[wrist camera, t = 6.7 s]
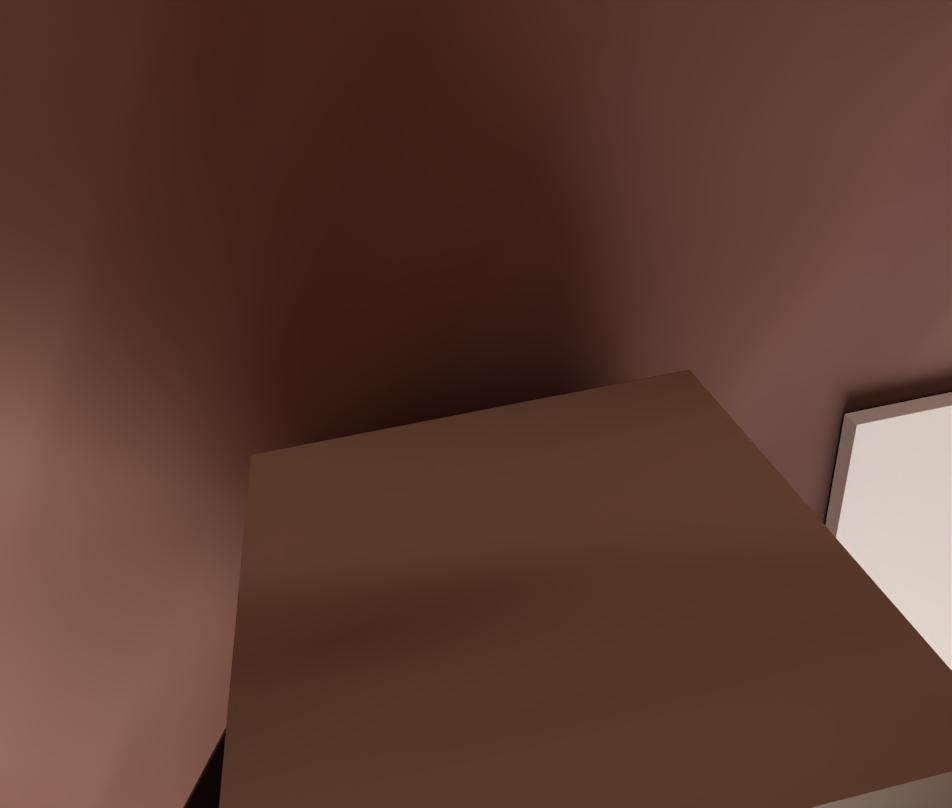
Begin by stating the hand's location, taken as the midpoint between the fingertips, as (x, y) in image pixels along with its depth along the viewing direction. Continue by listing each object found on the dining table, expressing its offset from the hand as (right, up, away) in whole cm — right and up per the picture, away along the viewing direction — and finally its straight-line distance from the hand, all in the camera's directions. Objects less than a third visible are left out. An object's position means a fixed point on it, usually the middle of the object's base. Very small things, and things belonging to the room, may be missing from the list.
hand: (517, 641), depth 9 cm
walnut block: (0, +1, +1) cm, 1 cm away
